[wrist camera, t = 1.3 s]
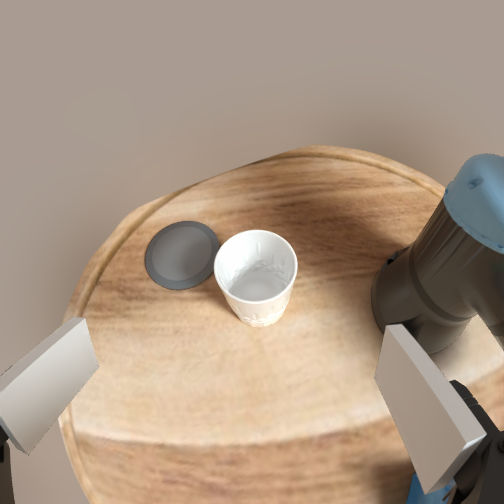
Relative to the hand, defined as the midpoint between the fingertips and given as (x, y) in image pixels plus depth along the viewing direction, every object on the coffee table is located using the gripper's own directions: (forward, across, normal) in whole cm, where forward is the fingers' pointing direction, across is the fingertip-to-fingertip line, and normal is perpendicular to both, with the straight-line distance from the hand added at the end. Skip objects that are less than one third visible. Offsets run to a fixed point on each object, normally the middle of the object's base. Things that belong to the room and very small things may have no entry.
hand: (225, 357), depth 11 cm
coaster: (+28, -10, -3) cm, 30 cm away
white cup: (+23, +1, -8) cm, 25 cm away
